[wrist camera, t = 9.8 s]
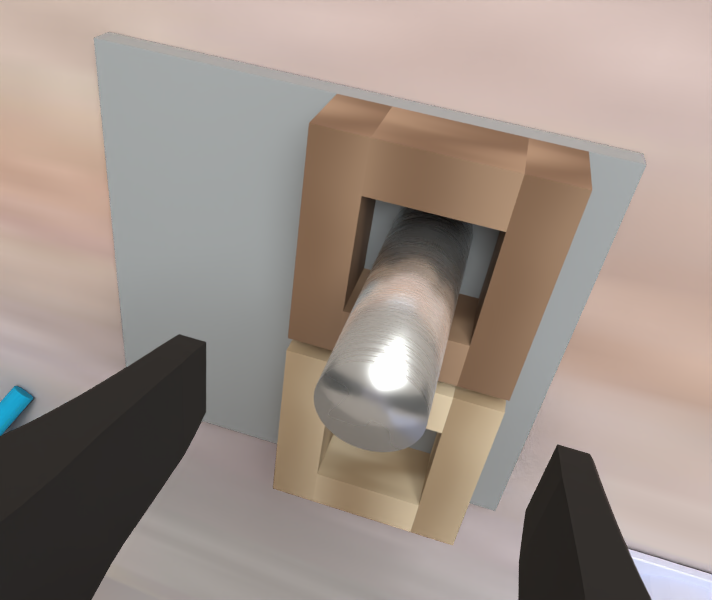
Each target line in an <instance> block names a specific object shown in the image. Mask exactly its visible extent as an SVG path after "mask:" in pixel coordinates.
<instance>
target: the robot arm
mask: <svg viewBox="0 0 712 600" xmlns="http://www.w3.org/2000/svg"><path fill="white" fill-rule="evenodd" d="M205 413H206V342H205V341H201V340H198V339H194V338H191V337H187V336H184V335H181V334H178V335H177V336H175V337H173V338H172V339H170V340H168V341H167V342H165V343H164V344H162V345H160V346H159V347H157V348H156V349H154V350H153V351H151V352H149V353H148V354H146V355H145V356H143V357H142V358H140V359H139V360H137V361H135V362H134V363H132V364H131V365H129V366H128V367H126V368H124V369H123V370H121V371H120V372H118V373H116V374H115V375H113V376H111V377H110V378H108V379H106V380H105V381H103V382H101V383H100V384H98V385H96V386H95V387H93V388H92V389H90V390H88V391H86V392H85V393H83V394H81V395H80V396H78V397H76V398H74V399H72V400H70V401H69V402H67V403H65V404H63V405H61V406H59V407H58V408H56V409H54V410H52V411H50V412H49V413H47V414H45V415H43V416H41V417H39V418H37V419H35V420H33V421H31V422H29V423H27V424H25V425H23V426H21V427H19V428H17V429H15V430H12V431H10V432H8V433H6V434H4V435H1V436H0V600H91V599H92V598H93V596H94V594H95V592H96V590H97V589H98V587H99V585H100V583H101V581H102V579H103V578H104V576H105V574H106V572H107V571H108V569H109V567H110V565H111V563H112V562H113V560H114V558H115V557H116V555H117V554H118V552H119V551H120V549H121V547H122V546H123V544H124V543H125V541H126V540H127V538H128V537H129V535H130V534H131V532H132V531H133V529H134V528H135V527H136V525H137V524H138V522H139V521H140V519H141V518H142V516H143V515H144V513H145V512H146V510H147V509H148V508H149V506H150V505H151V503H152V502H153V500H154V499H155V497H156V496H157V494H158V493H159V492H160V490H161V489H162V487H163V486H164V484H165V483H166V481H167V480H168V478H169V477H170V475H171V474H172V472H173V471H174V469H175V468H176V466H177V465H178V464H179V462H180V460H181V459H182V457H183V456H184V454H185V453H186V451H187V449H188V447H189V445H190V443H191V441H192V439H193V437H194V436H195V434H196V432H197V430H198V428H199V425H200V423H201V421H202V419H203V417H204V415H205ZM519 600H712V574H709V573H706V572H702V571H699V570H696V569H693V568H689V567H686V566H683V565H680V564H676V563H673V562H670V561H667V560H663V559H660V558H657V557H654V556H650V555H647V554H644V553H640V552H637V551H634V550H631V549H628V548H627V545H626V543H625V541H624V539H623V536H622V534H621V532H620V529H619V527H618V524H617V522H616V520H615V517H614V514H613V512H612V509H611V507H610V504H609V502H608V499H607V497H606V494H605V491H604V489H603V486H602V483H601V480H600V478H599V475H598V472H597V469H596V466H595V463H594V461H593V459H592V457H591V455H590V454H588V453H585V452H581V451H578V450H574V449H571V448H568V447H564V446H561V445H557V446H556V449H555V451H554V453H553V455H552V457H551V459H550V461H549V463H548V465H547V467H546V469H545V471H544V474H543V476H542V478H541V480H540V482H539V484H538V486H537V488H536V490H535V492H534V494H533V496H532V498H531V501H530V503H529V505H528V507H527V509H526V512H525V519H524V527H523V534H522V542H521V550H520V558H519Z"/></svg>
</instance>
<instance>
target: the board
mask: <svg viewBox="0 0 712 600" xmlns="http://www.w3.org/2000/svg"><path fill="white" fill-rule="evenodd" d="M94 45H95V55H96V66H97V76H98V86H99V96H100V106H101V117H102V127H103V137H104V147H105V157H106V167H107V178H108V188H109V198H110V208H111V218H112V228H113V239H114V249H115V259H116V269H117V279H118V289H119V300H120V310H121V320H122V330H123V340H124V350H125V361H126V367H128V366H129V365H131V364H132V363H134V362H135V361H137V360H139V359H140V358H142V357H143V356H145V355H146V354H148V353H149V352H151V351H153V350H154V349H156V348H157V347H159V346H160V345H162V344H164V343H165V342H167V341H168V340H170V339H172V338H173V337H175V336H177V335H178V334H181V335H184V336H187V337H191V338H194V339H198V340H201V341H205V342H206V413H205V415H204V417H203V419H202V421H204V422H207V423H210V424H214V425H217V426H220V427H223V428H227V429H230V430H233V431H236V432H240V433H243V434H246V435H249V436H253V437H256V438H259V439H262V440H266V441H269V442H272V443H275V444H277V442H278V432H279V421H280V411H281V401H282V391H283V381H284V371H285V360H286V350H287V348H288V347H289V345H290V343H291V341H292V340H293V339H289V338H288V330H289V320H290V310H291V300H292V289H293V279H294V269H295V259H296V249H297V239H298V228H299V218H300V208H301V198H302V188H303V178H304V167H305V157H306V147H307V137H308V127H309V122H310V121H311V120H312V119H313V118H314V117H315V116H316V115H317V114H318V113H319V112H320V111H321V110H322V109H323V108H324V107H325V106H326V105H327V104H328V103H329V102H330V100H331V99H332V98H333V97H334V96H335V95H336V94H341V95H345V96H349V97H354V98H358V99H362V100H367V101H371V102H375V103H380V104H384V105H388V106H393V107H397V108H402V109H406V110H410V111H415V112H419V113H423V114H428V115H432V116H436V117H441V118H445V119H449V120H454V121H458V122H463V123H467V124H471V125H476V126H480V127H484V128H489V129H493V130H497V131H502V132H506V133H510V134H515V135H519V136H523V137H528V138H532V139H537V140H541V141H545V142H550V143H554V144H558V145H563V146H567V147H571V148H576V149H580V150H584V151H589V158H590V169H591V180H592V193H591V195H590V198H589V200H588V203H587V205H586V208H585V210H584V213H583V215H582V218H581V220H580V223H579V226H578V228H577V231H576V233H575V236H574V238H573V241H572V243H571V246H570V248H569V251H568V254H567V256H566V259H565V261H564V264H563V266H562V269H561V271H560V274H559V276H558V279H557V281H556V284H555V287H554V289H553V292H552V294H551V297H550V299H549V302H548V304H547V307H546V309H545V312H544V314H543V317H542V320H541V322H540V325H539V327H538V330H537V332H536V335H535V337H534V340H533V342H532V345H531V348H530V350H529V353H528V355H527V358H526V360H525V363H524V365H523V368H522V370H521V373H520V375H519V378H518V381H517V383H516V386H515V388H514V391H513V393H512V396H511V398H510V401H508V400H506V407H505V414H504V416H503V419H502V421H501V424H500V426H499V429H498V431H497V434H496V436H495V439H494V442H493V444H492V447H491V449H490V452H489V454H488V457H487V459H486V462H485V464H484V467H483V470H482V472H481V475H480V477H479V480H478V482H477V485H476V487H475V490H474V492H473V495H472V497H471V500H470V503H471V504H474V505H477V506H481V507H484V508H487V509H490V510H494V511H495V510H496V508H497V505H498V503H499V501H500V499H501V496H502V494H503V492H504V489H505V487H506V485H507V483H508V480H509V478H510V476H511V473H512V471H513V469H514V467H515V464H516V462H517V460H518V457H519V455H520V453H521V451H522V448H523V446H524V444H525V441H526V439H527V437H528V435H529V432H530V430H531V428H532V425H533V423H534V421H535V419H536V416H537V414H538V412H539V409H540V407H541V405H542V402H543V400H544V398H545V396H546V393H547V391H548V389H549V386H550V384H551V382H552V380H553V377H554V375H555V373H556V370H557V368H558V366H559V364H560V361H561V359H562V357H563V354H564V352H565V350H566V348H567V345H568V343H569V341H570V338H571V336H572V334H573V332H574V329H575V327H576V325H577V322H578V320H579V318H580V316H581V313H582V311H583V309H584V306H585V304H586V302H587V300H588V297H589V295H590V293H591V290H592V288H593V286H594V284H595V281H596V279H597V277H598V274H599V272H600V270H601V268H602V265H603V263H604V261H605V258H606V256H607V254H608V252H609V249H610V247H611V245H612V242H613V240H614V238H615V236H616V233H617V231H618V229H619V226H620V224H621V222H622V219H623V217H624V215H625V213H626V210H627V208H628V206H629V203H630V201H631V199H632V197H633V194H634V192H635V190H636V187H637V185H638V183H639V181H640V178H641V176H642V174H643V171H644V169H645V167H646V161H645V158H644V154H643V153H638V152H634V151H630V150H625V149H621V148H617V147H612V146H608V145H603V144H599V143H595V142H590V141H586V140H581V139H577V138H573V137H568V136H564V135H559V134H555V133H551V132H546V131H542V130H537V129H533V128H529V127H524V126H520V125H515V124H511V123H507V122H502V121H498V120H494V119H489V118H485V117H480V116H476V115H472V114H467V113H463V112H458V111H454V110H450V109H445V108H441V107H436V106H432V105H428V104H423V103H419V102H414V101H410V100H406V99H401V98H397V97H392V96H388V95H384V94H379V93H375V92H371V91H366V90H362V89H357V88H353V87H349V86H344V85H340V84H335V83H331V82H327V81H322V80H318V79H313V78H309V77H305V76H300V75H296V74H291V73H287V72H283V71H278V70H274V69H269V68H265V67H261V66H256V65H252V64H248V63H243V62H239V61H234V60H230V59H226V58H221V57H217V56H212V55H208V54H204V53H199V52H195V51H190V50H186V49H182V48H177V47H173V46H168V45H164V44H160V43H155V42H151V41H146V40H142V39H138V38H133V37H129V36H125V35H120V34H116V33H111V32H108V33H105V34H102V35H100V36H97V37H95V38H94ZM401 207H402V206H400V205H396V204H392V203H388V202H384V201H380V200H376V203H375V208H374V214H373V220H372V226H371V231H370V237H369V243H368V248H367V254H366V260H365V265H364V268H365V269H369V270H371V269H372V267H373V264H374V262H375V260H376V258H377V256H378V254H379V252H380V250H381V248H382V245H383V243H384V241H385V239H386V237H387V235H388V233H389V231H390V229H391V227H392V224H393V222H394V220H395V218H396V216H397V214H398V212H399V210H400V209H401ZM499 232H500V230H496V229H492V228H488V227H484V226H480V225H476V224H473V239H472V243H471V247H470V251H469V256H468V260H467V264H466V268H465V272H464V276H463V280H462V284H461V288H460V292H459V293H460V294H463V295H467V296H471V297H475V298H479V296H480V293H481V290H482V287H483V284H484V280H485V277H486V274H487V271H488V268H489V264H490V261H491V258H492V255H493V252H494V248H495V245H496V242H497V239H498V236H499ZM436 434H437V432H436V431H433V430H429V429H426V430H425V432H424V434H423V435H422V436H421V438H420V439H419V440H418V441H417V442H416V443H414V444H413V445H411V446H409V448H413V449H416V450H420V451H423V452H426V453H431V450H432V447H433V444H434V440H435V437H436Z"/></svg>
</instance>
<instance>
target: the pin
mask: <svg viewBox="0 0 712 600" xmlns="http://www.w3.org/2000/svg"><path fill="white" fill-rule="evenodd" d="M472 239H473V224H472V223H468V222H464V221H460V220H456V219H452V218H448V217H444V216H440V215H436V214H432V213H428V212H424V211H420V210H416V209H412V208H408V207H404V206H402V207H401V209H400V210H399V212H398V214H397V216H396V218H395V220H394V222H393V224H392V227H391V229H390V231H389V233H388V235H387V237H386V239H385V241H384V243H383V245H382V248H381V250H380V252H379V254H378V256H377V258H376V260H375V262H374V264H373V267H372V269H371V271H370V273H369V275H368V277H367V279H366V281H365V283H364V286H363V288H362V290H361V292H360V294H359V296H358V298H357V300H356V302H355V305H354V307H353V309H352V311H351V313H350V315H349V317H348V319H347V321H346V323H345V326H344V328H343V330H342V332H341V334H340V336H339V338H338V340H337V342H336V345H335V347H334V349H333V351H332V353H331V355H330V357H329V359H328V361H327V364H326V366H325V368H324V370H323V372H322V374H321V376H320V378H319V380H318V382H317V385H316V387H315V390H314V405H315V409H316V412H317V414H318V416H319V418H320V420H321V421H322V422H323V424H324V425H325V426H326V427H327V429H328V430H330V431H331V432H332V433H333V434H334V435H335V436H337V437H338V438H339V439H341V440H343V441H344V442H346V443H348V444H350V445H352V446H355V447H357V448H360V449H364V450H368V451H374V452H394V451H399V450H402V449H405V448H407V447H409V446H411V445H413V444H414V443H416V442H417V441H418V440H419V439H420V438H421V436H422V435H423V434H424V432H425V430H426V427H427V423H428V419H429V415H430V411H431V407H432V403H433V398H434V394H435V390H436V386H437V382H438V378H439V374H440V370H441V366H442V362H443V358H444V354H445V349H446V345H447V341H448V337H449V333H450V329H451V325H452V321H453V317H454V313H455V309H456V305H457V300H458V296H459V292H460V288H461V284H462V280H463V276H464V272H465V268H466V264H467V260H468V256H469V251H470V247H471V243H472Z"/></svg>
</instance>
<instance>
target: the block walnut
mask: <svg viewBox="0 0 712 600" xmlns="http://www.w3.org/2000/svg"><path fill="white" fill-rule="evenodd" d="M591 193H592V180H591V169H590V158H589V151H584V150H580V149H576V148H571V147H567V146H563V145H558V144H554V143H550V142H545V141H541V140H537V139H532V138H528V137H523V136H519V135H515V134H510V133H506V132H502V131H497V130H493V129H489V128H484V127H480V126H476V125H471V124H467V123H463V122H458V121H454V120H449V119H445V118H441V117H436V116H432V115H428V114H423V113H419V112H415V111H410V110H406V109H402V108H397V107H393V106H388V105H384V104H380V103H375V102H371V101H367V100H362V99H358V98H354V97H349V96H345V95H341V94H336V95H335V96H334V97H333V98H332V99H331V100H330V102H329V103H328V104H327V105H326V106H325V107H324V108H323V109H322V110H321V111H320V112H319V113H318V114H317V115H316V116H315V117H314V118H313V119H312V120H311V121H310V122H309V127H308V137H307V147H306V157H305V167H304V178H303V188H302V198H301V208H300V218H299V228H298V239H297V249H296V259H295V269H294V279H293V289H292V300H291V310H290V320H289V330H288V338H289V339H293V340H296V341H300V342H303V343H307V344H310V345H314V346H317V347H321V348H324V349H328V350H331V351H333V349H334V347H335V345H336V342H337V340H338V338H339V336H340V334H341V332H342V330H343V328H344V326H345V323H346V321H347V319H348V317H349V315H350V313H351V311H352V309H353V307H354V305H355V302H356V300H357V298H358V296H359V294H360V292H361V290H362V288H363V286H364V283H365V281H366V279H367V277H368V275H369V273H370V271H371V270H369V269H365V268H364V265H365V260H366V254H367V248H368V243H369V237H370V231H371V226H372V220H373V214H374V208H375V203H376V200H380V201H384V202H388V203H392V204H396V205H400V206H404V207H408V208H412V209H416V210H420V211H424V212H428V213H432V214H436V215H440V216H444V217H448V218H452V219H456V220H460V221H464V222H468V223H472V224H476V225H480V226H484V227H488V228H492V229H496V230H500V232H499V236H498V239H497V242H496V245H495V248H494V252H493V255H492V258H491V261H490V264H489V268H488V271H487V274H486V277H485V280H484V284H483V287H482V290H481V293H480V296H479V298H475V297H471V296H467V295H463V294H460V293H459V296H458V300H457V305H456V309H455V313H454V317H453V321H452V325H451V329H450V333H449V337H448V341H447V345H446V349H445V354H444V358H443V362H442V366H441V370H440V374H439V378H438V381H441V382H444V383H448V384H451V385H455V386H458V387H462V388H465V389H469V390H472V391H476V392H479V393H483V394H486V395H490V396H493V397H497V398H500V399H504V400H508V401H510V398H511V396H512V393H513V391H514V388H515V386H516V383H517V381H518V378H519V375H520V373H521V370H522V368H523V365H524V363H525V360H526V358H527V355H528V353H529V350H530V348H531V345H532V342H533V340H534V337H535V335H536V332H537V330H538V327H539V325H540V322H541V320H542V317H543V314H544V312H545V309H546V307H547V304H548V302H549V299H550V297H551V294H552V292H553V289H554V287H555V284H556V281H557V279H558V276H559V274H560V271H561V269H562V266H563V264H564V261H565V259H566V256H567V254H568V251H569V248H570V246H571V243H572V241H573V238H574V236H575V233H576V231H577V228H578V226H579V223H580V220H581V218H582V215H583V213H584V210H585V208H586V205H587V203H588V200H589V198H590V195H591Z"/></svg>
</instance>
